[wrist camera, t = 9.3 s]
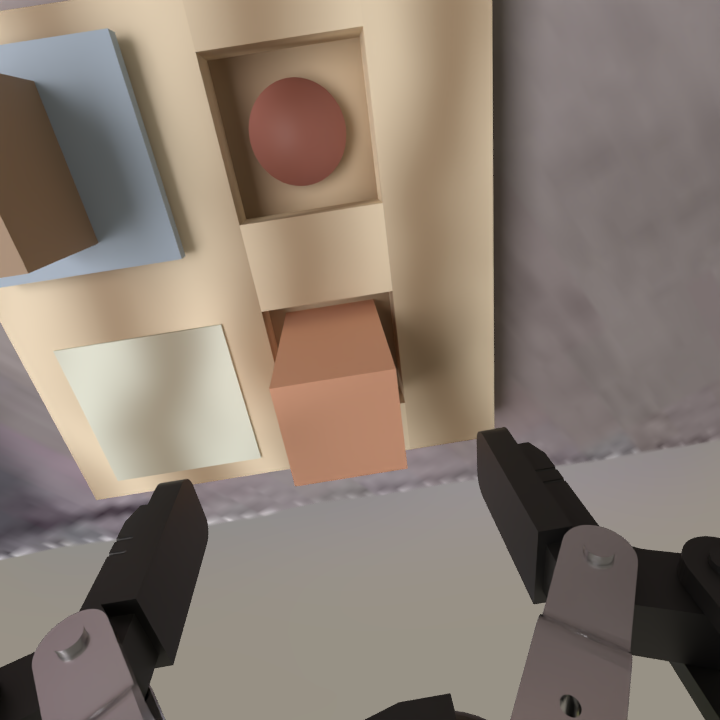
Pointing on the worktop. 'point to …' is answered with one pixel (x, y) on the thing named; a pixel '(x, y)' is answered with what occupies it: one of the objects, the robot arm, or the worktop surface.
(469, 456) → the worktop surface
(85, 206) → the lid
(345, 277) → the board
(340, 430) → the block
